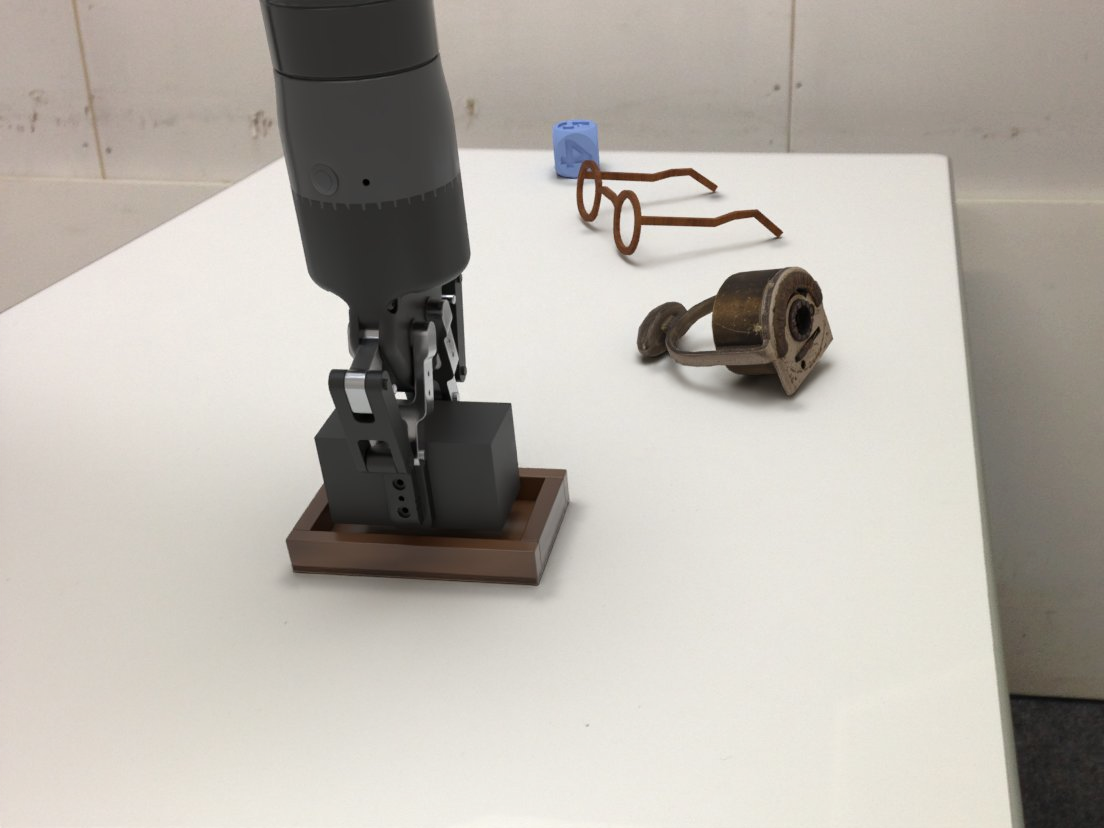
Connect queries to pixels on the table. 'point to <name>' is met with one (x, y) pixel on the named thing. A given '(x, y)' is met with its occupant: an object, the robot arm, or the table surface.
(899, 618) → the table surface
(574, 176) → the decorative dice
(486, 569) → the tray
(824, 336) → the antique brass mechanism
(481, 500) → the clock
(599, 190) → the glasses
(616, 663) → the table surface
